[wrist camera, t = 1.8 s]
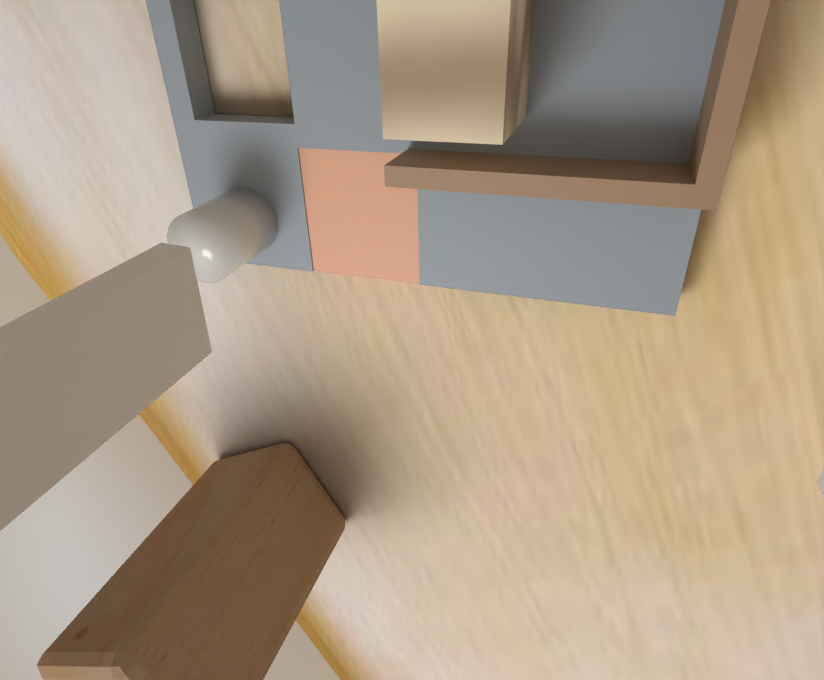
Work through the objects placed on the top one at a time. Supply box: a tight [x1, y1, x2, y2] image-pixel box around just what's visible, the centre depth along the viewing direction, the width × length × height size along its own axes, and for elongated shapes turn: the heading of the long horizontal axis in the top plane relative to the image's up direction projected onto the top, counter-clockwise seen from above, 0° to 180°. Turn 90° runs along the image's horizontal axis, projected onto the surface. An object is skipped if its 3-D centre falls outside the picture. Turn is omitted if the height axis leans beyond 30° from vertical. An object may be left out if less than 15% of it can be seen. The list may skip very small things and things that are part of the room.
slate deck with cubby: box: [146, 0, 771, 316], centre depth 28 cm, size 20×29×6 cm
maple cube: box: [376, 0, 535, 145], centre depth 24 cm, size 5×5×6 cm
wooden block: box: [37, 443, 345, 680], centre depth 43 cm, size 10×10×20 cm
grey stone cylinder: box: [167, 188, 278, 283], centre depth 33 cm, size 4×4×5 cm
